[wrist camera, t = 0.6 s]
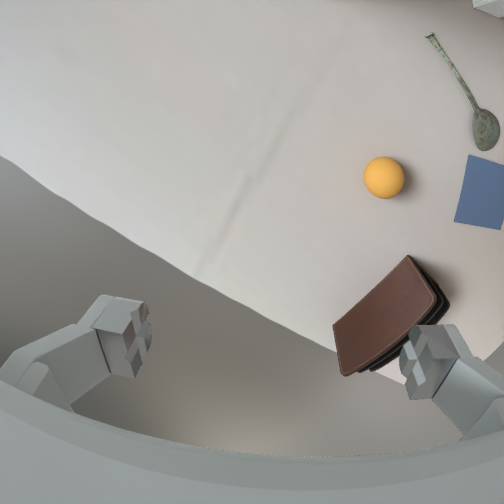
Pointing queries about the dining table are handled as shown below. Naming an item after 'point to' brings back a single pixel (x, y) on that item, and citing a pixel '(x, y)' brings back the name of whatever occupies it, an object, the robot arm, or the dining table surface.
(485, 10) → the milk
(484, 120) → the soupspoon
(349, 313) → the letter holder
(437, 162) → the dining table surface
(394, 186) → the ball
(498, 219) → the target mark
